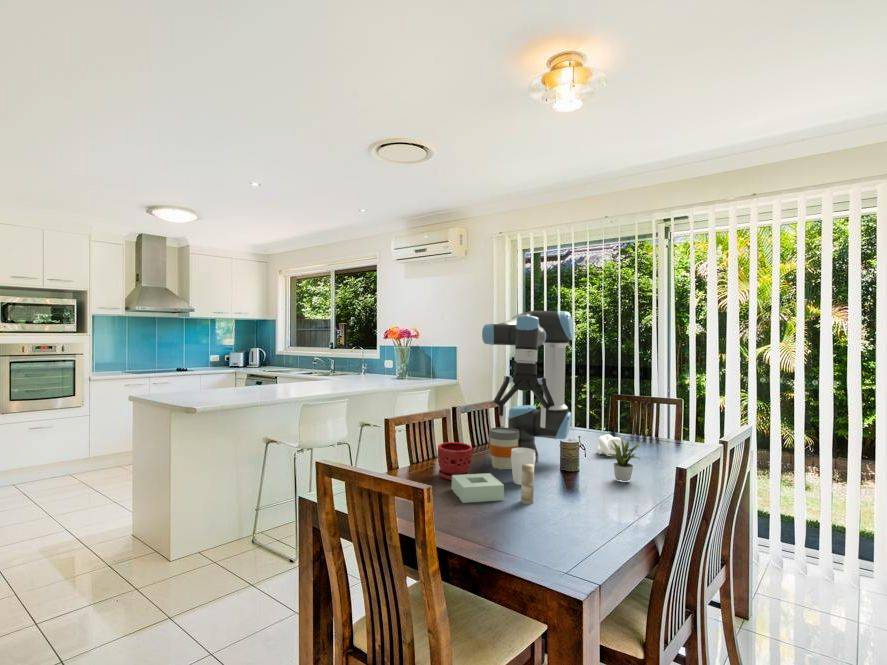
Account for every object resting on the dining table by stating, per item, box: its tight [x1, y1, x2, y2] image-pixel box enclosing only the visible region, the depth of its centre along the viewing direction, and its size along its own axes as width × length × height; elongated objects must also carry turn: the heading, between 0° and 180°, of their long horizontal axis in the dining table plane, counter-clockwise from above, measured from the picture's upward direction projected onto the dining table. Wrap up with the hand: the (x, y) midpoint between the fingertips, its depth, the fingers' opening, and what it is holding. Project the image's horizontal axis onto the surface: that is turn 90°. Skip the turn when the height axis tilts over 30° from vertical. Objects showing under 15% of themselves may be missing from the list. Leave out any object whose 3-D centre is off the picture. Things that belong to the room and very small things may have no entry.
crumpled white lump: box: [595, 433, 622, 457], centre depth 236 cm, size 11×12×9 cm
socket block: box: [451, 472, 505, 504], centre depth 175 cm, size 14×14×5 cm
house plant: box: [606, 438, 642, 481], centre depth 194 cm, size 14×14×16 cm
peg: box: [520, 464, 535, 505], centre depth 168 cm, size 4×4×12 cm
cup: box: [511, 448, 536, 486], centre depth 190 cm, size 9×9×12 cm
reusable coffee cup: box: [488, 426, 519, 470], centre depth 211 cm, size 13×13×15 cm
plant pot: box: [437, 441, 473, 481], centre depth 194 cm, size 13×13×12 cm
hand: (522, 426), depth 170 cm, fingers open, 13 cm apart
